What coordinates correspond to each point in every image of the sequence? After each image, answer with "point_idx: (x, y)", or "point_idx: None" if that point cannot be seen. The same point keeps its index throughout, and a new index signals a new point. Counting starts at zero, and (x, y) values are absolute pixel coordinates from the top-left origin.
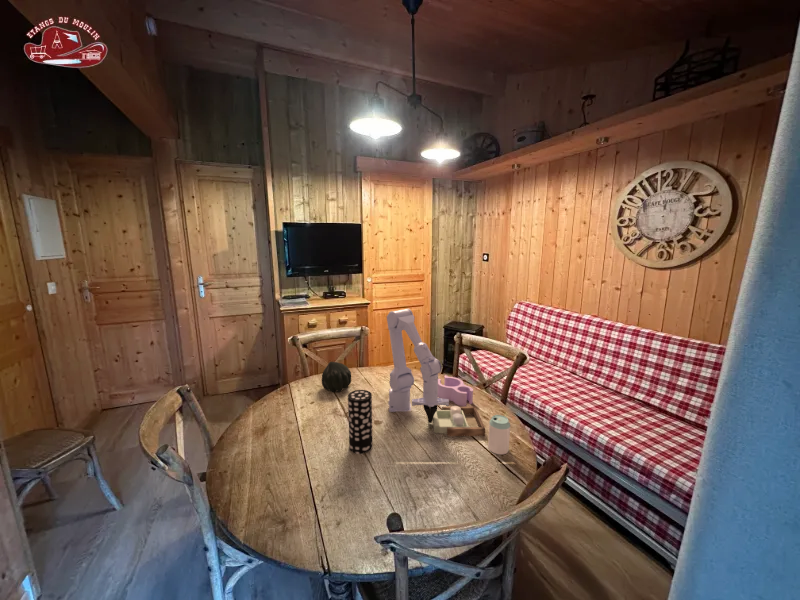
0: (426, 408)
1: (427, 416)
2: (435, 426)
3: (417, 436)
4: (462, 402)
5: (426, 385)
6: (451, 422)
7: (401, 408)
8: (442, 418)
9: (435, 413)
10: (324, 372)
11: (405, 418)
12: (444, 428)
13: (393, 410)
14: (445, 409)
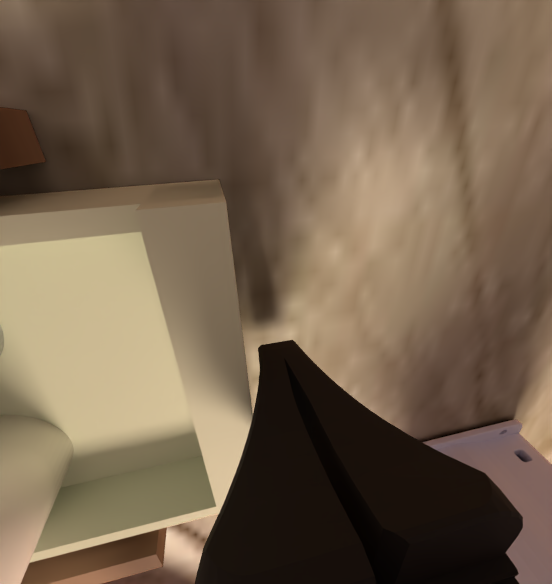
0: (474, 538)
1: (341, 388)
2: (213, 202)
3: (415, 124)
4: None
5: None
6: (43, 406)
7: (464, 459)
8: (153, 438)
9: (223, 471)
10: None
11: (442, 382)
12: (52, 205)
13: (497, 434)
14: (125, 543)
